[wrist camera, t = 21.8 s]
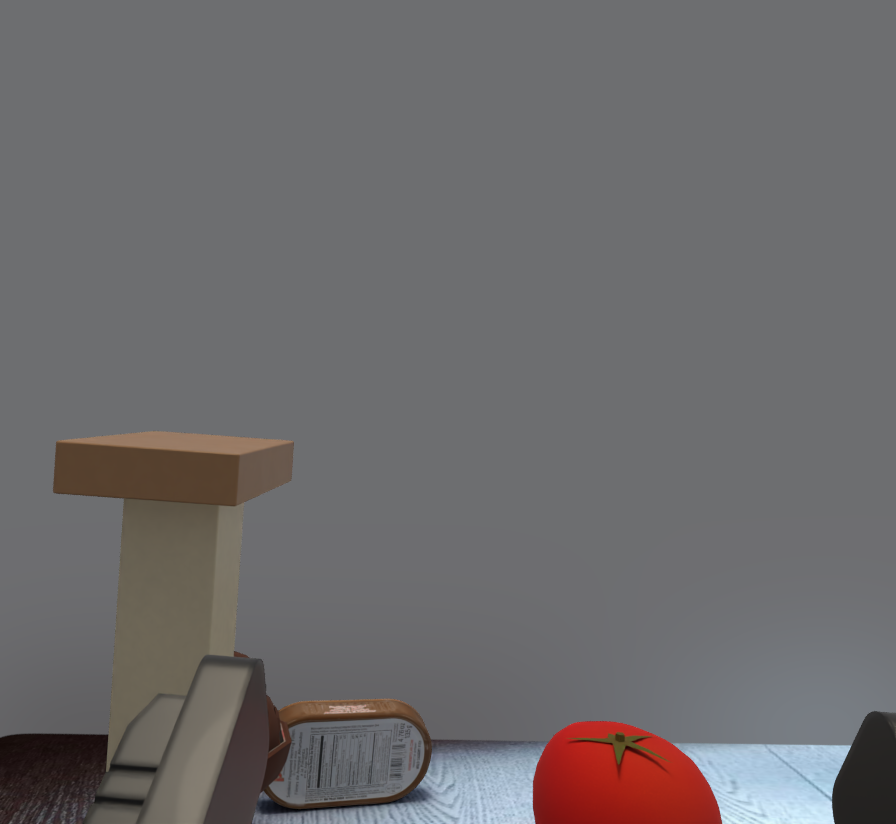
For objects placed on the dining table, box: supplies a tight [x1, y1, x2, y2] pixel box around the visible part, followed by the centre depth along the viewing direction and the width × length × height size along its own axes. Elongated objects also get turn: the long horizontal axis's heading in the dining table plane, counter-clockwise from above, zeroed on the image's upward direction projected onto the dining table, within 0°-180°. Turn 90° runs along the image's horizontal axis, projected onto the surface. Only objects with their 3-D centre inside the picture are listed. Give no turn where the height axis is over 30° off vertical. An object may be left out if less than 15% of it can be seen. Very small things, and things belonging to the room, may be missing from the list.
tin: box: [263, 699, 432, 809], centre depth 70 cm, size 15×3×8 cm, turn 108°
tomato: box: [533, 721, 722, 824], centre depth 61 cm, size 12×14×11 cm
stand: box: [53, 431, 294, 772], centre depth 37 cm, size 10×8×32 cm
